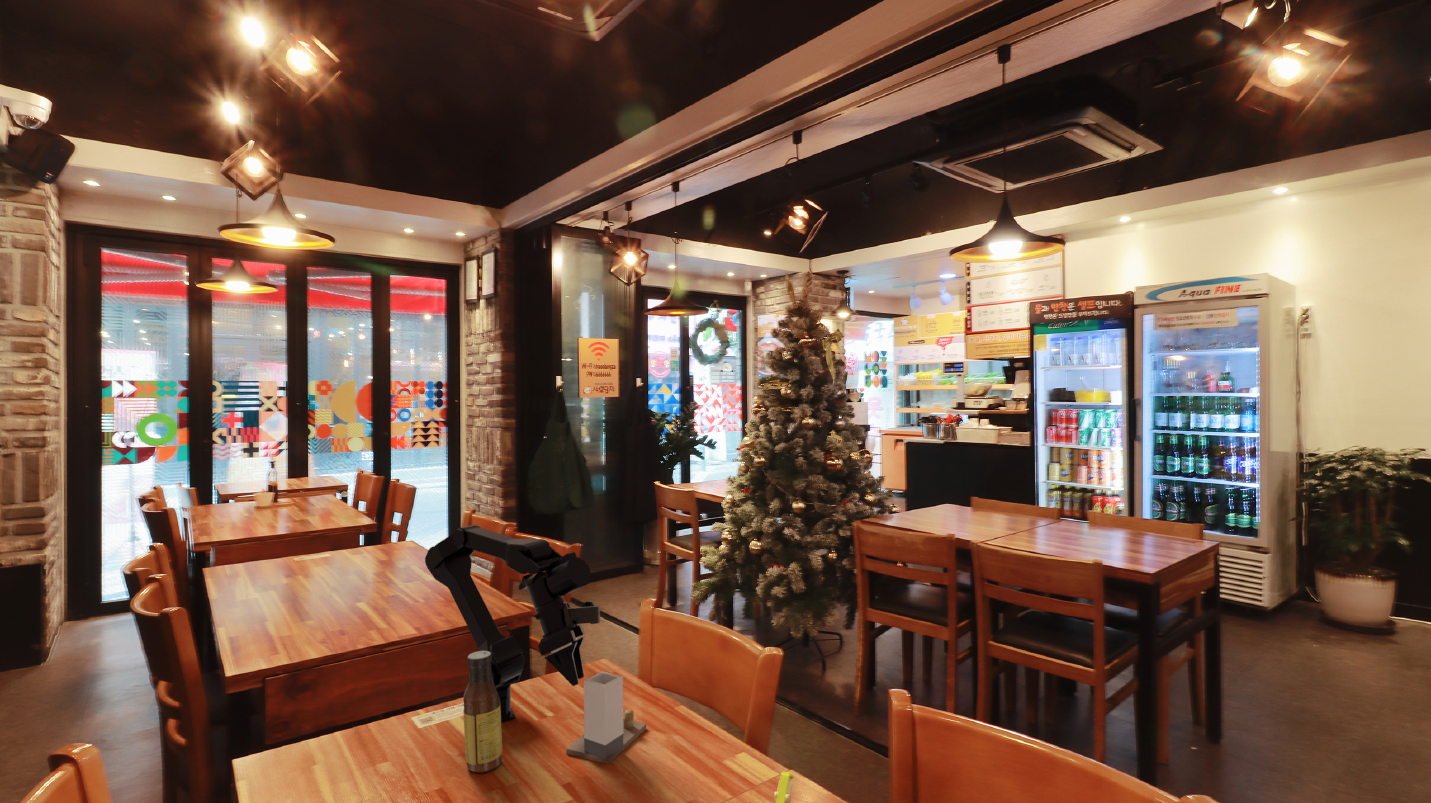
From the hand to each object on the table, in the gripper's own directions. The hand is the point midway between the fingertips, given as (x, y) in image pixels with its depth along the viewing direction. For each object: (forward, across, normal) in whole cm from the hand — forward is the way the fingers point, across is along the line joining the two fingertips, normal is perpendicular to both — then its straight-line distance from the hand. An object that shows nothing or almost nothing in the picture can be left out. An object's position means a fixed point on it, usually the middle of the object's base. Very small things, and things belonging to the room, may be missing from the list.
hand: (578, 681), depth 131 cm
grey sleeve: (+13, -2, 0) cm, 13 cm away
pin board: (+12, +3, -1) cm, 13 cm away
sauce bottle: (+6, -3, +20) cm, 21 cm away
